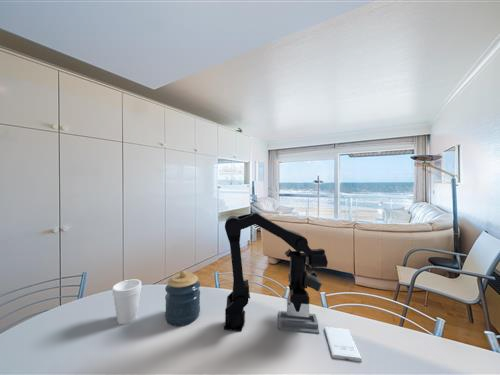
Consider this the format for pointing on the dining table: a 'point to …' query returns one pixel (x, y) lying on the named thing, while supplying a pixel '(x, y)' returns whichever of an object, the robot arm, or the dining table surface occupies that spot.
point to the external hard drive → (342, 344)
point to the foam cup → (127, 300)
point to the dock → (298, 323)
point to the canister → (182, 299)
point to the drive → (302, 312)
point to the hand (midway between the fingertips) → (297, 309)
